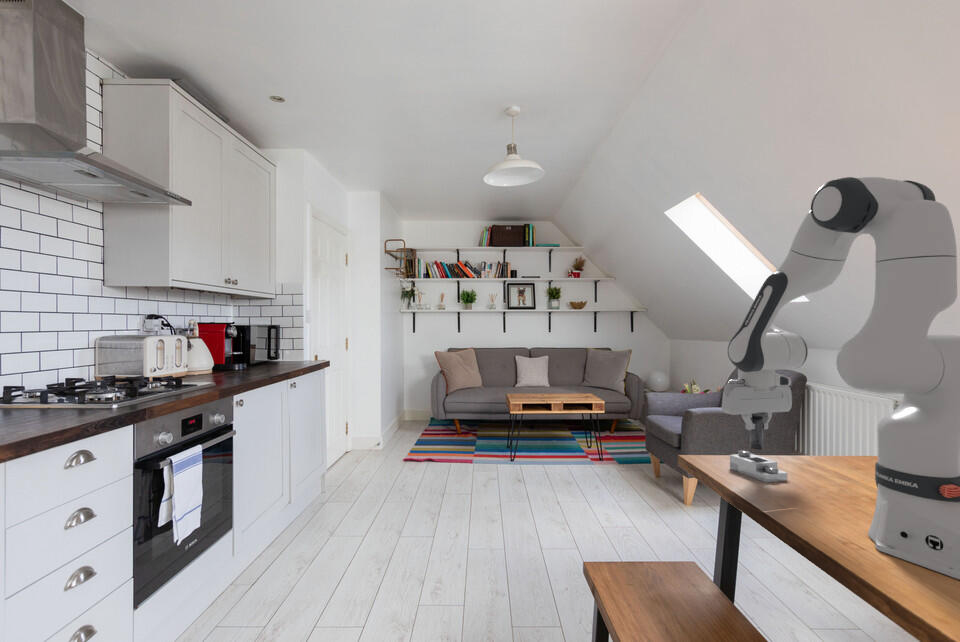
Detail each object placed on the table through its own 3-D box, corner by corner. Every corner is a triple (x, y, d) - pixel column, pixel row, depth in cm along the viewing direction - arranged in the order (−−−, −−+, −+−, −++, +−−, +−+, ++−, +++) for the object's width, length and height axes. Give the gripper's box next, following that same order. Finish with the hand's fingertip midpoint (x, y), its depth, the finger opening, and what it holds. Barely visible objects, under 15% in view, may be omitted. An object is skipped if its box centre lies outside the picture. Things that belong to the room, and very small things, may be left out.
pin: (770, 449, 125) (769, 412, 125) (756, 450, 124) (756, 413, 124) (756, 445, 129) (756, 409, 129) (743, 446, 128) (743, 410, 128)
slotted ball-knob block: (787, 480, 121) (787, 461, 121) (765, 482, 119) (765, 463, 119) (750, 467, 133) (750, 449, 133) (730, 469, 131) (729, 451, 131)
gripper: (733, 381, 121) (734, 434, 121) (796, 378, 126) (796, 429, 126) (715, 378, 127) (716, 428, 127) (776, 376, 132) (776, 424, 132)
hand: (756, 429), depth 126 cm, fingers closed on pin, 3 cm apart
